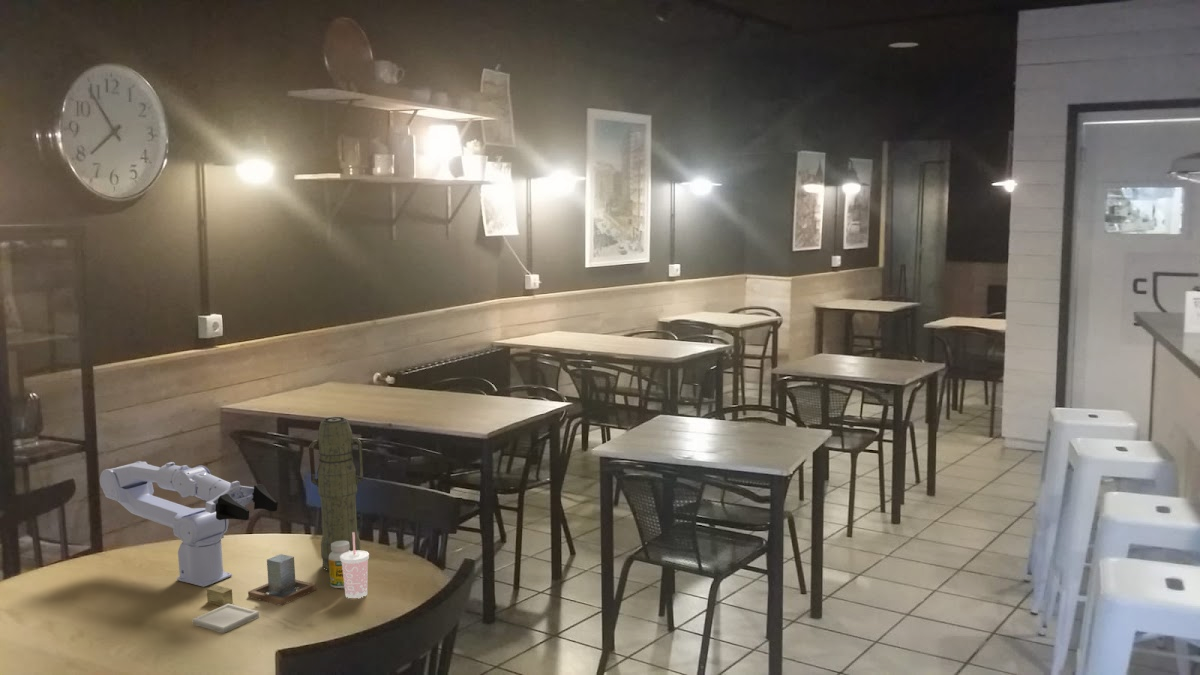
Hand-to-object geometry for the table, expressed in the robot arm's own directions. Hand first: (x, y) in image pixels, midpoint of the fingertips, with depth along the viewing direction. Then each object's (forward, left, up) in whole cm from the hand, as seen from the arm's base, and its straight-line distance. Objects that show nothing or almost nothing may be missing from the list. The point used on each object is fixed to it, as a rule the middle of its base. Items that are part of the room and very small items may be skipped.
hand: (262, 511), depth 220 cm
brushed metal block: (+2, +2, -19) cm, 19 cm away
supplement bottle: (+10, +12, -19) cm, 25 cm away
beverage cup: (+17, +9, -19) cm, 27 cm away
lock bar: (-6, -8, -19) cm, 21 cm away
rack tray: (+3, -14, -19) cm, 24 cm away
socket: (+2, +2, -19) cm, 19 cm away
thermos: (+1, +21, -19) cm, 29 cm away
